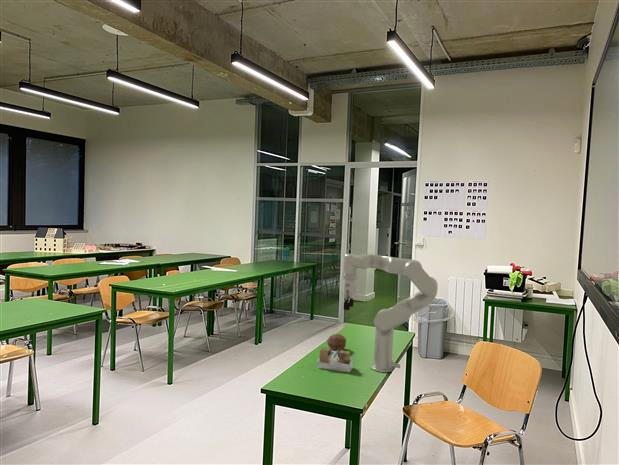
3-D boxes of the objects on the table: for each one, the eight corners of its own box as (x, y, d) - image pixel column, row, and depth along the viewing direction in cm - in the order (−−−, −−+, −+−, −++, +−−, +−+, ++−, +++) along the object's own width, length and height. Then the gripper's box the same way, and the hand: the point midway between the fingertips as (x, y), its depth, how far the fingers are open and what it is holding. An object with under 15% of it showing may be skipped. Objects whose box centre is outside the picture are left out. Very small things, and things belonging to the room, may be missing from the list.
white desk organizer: (352, 367, 232) (353, 350, 232) (349, 372, 224) (350, 355, 224) (321, 363, 237) (322, 346, 237) (317, 367, 229) (318, 350, 229)
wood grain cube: (349, 362, 231) (349, 351, 231) (347, 365, 226) (348, 353, 226) (339, 361, 232) (339, 350, 232) (337, 363, 228) (337, 352, 228)
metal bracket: (325, 345, 251) (350, 350, 245) (326, 354, 253) (351, 359, 246) (315, 359, 239) (340, 364, 232) (316, 368, 241) (341, 373, 234)
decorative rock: (342, 354, 254) (342, 337, 254) (323, 351, 258) (324, 334, 258) (348, 348, 267) (349, 332, 266) (331, 345, 271) (331, 329, 270)
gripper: (353, 279, 228) (352, 311, 228) (359, 275, 244) (358, 306, 245) (339, 278, 230) (338, 310, 231) (346, 274, 247) (344, 304, 247)
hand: (348, 308), depth 238 cm, fingers open, 9 cm apart
